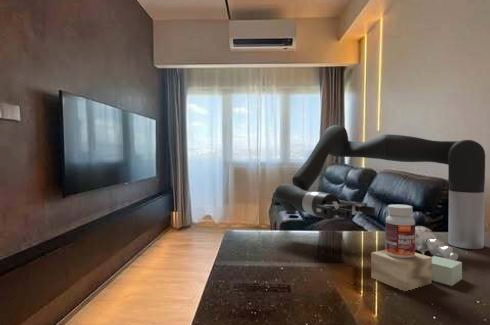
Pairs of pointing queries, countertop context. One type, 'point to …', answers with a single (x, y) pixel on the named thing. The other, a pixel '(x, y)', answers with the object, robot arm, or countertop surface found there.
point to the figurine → (432, 244)
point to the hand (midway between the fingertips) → (362, 213)
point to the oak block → (401, 270)
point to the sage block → (446, 270)
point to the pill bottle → (400, 231)
